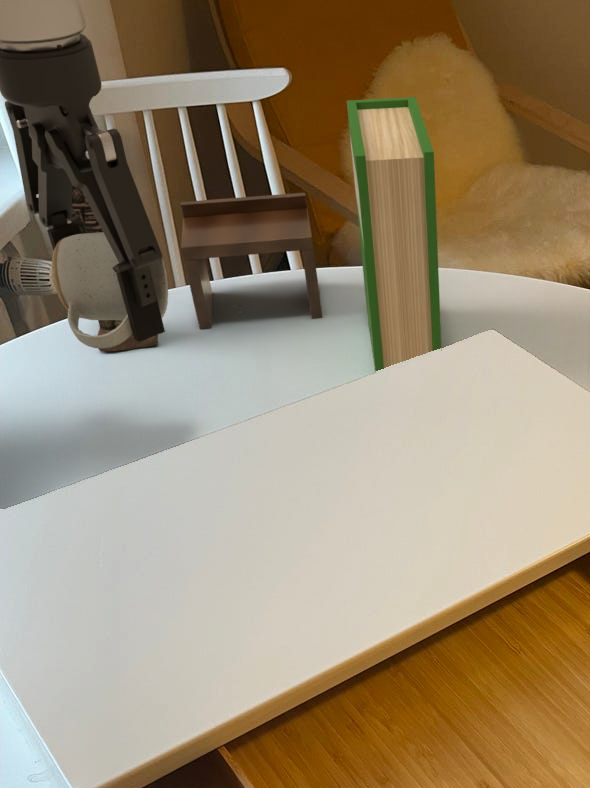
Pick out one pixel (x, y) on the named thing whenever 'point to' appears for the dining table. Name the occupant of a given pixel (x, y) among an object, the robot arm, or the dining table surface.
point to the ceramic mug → (97, 286)
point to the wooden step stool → (245, 240)
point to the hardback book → (396, 227)
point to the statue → (91, 225)
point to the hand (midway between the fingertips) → (115, 315)
